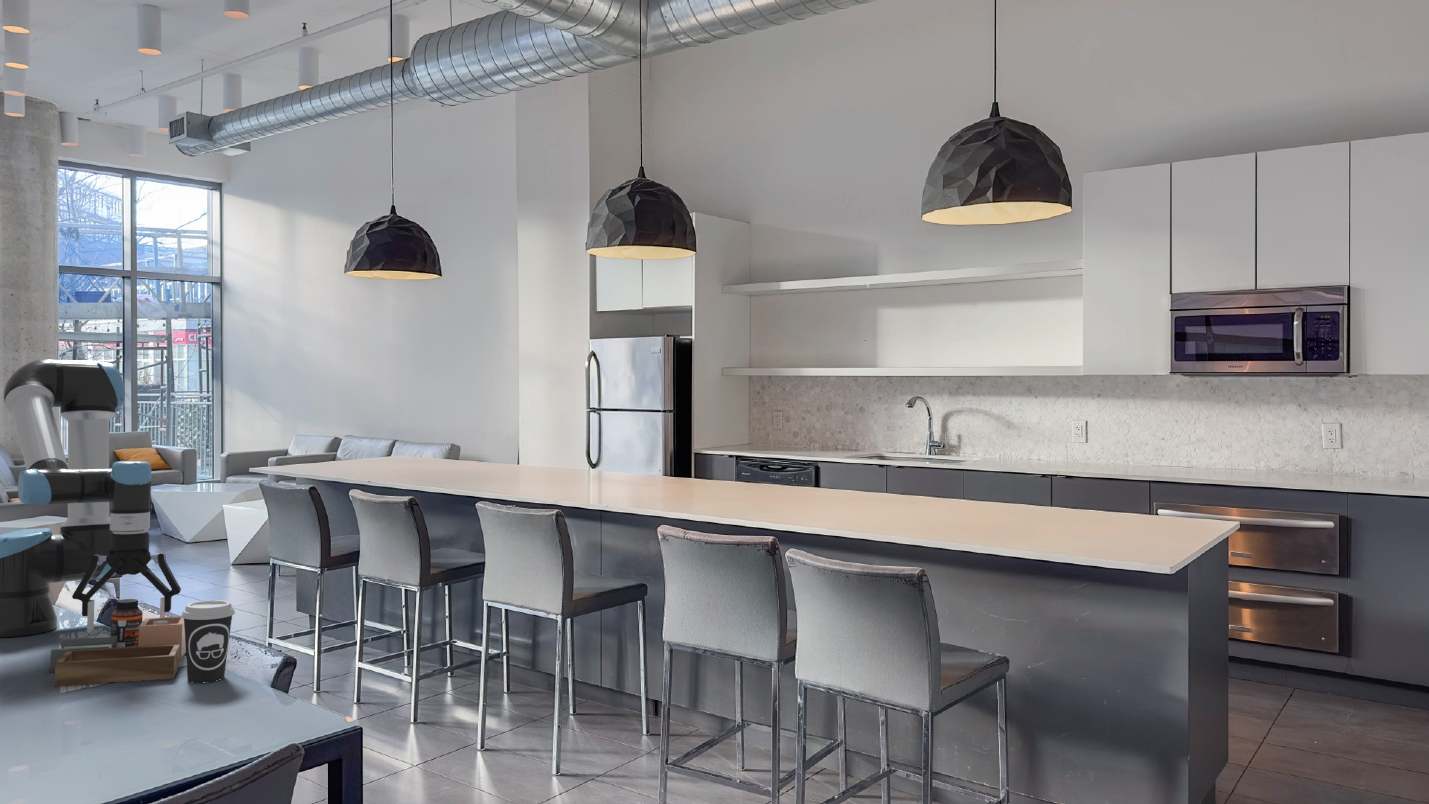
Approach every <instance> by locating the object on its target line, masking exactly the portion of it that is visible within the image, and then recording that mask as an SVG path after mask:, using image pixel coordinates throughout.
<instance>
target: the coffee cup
mask: <svg viewBox="0 0 1429 804" xmlns="http://www.w3.org/2000/svg"><path fill="white" fill-rule="evenodd" d="M235 614H236V611H235V609H234V607H233V606H232V603H231V601H229V600H222V599H221V600H219V599H211V600H210V599H209V600H199V601H193V602H189V603H187V604H186V606H185V608H184V609H183V610H182V613H181V615H180V617H182V618H184V628H185V643H186V651H185V657H186V658H185V659H186V673H187V674H186V675H187V682H188V683H190V682H193V683H192V684H204V683H203V682H211V683H214V682H213V681H216V680H219V679H222V678H223V677H224V678H225V675H226V674H225V673H226V665H227V656H228V651H229V641H230V635H231V626H232V620H233V616H234V615H235ZM224 678H223V679H224ZM223 679H222V680H223ZM219 681H220V680H219ZM216 682H217V681H216Z"/></svg>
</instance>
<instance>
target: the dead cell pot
mask: <svg viewBox="0 0 1429 804" xmlns="http://www.w3.org/2000/svg"><path fill="white" fill-rule="evenodd" d="M173 644H180V662H179V663H182V661H183V659H184V658H185V656H186V643H185V628H184V618H182V617H181V616H165V617H161V618H160V617H145V618H143V619H142V623H141V624H140V626H139V641H138V647H139V646H156V645H173Z"/></svg>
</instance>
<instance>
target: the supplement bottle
mask: <svg viewBox="0 0 1429 804" xmlns="http://www.w3.org/2000/svg"><path fill="white" fill-rule="evenodd" d="M143 619H144V618H143V610H142V609H141V608H139V600H138V599H136V598H125V599H118V600H117V601H116V609H115V610H113V612H111V615H110V629H109V630H110V633H109V635H110V636H118V638H117V648H121V647H138V641H139V626H140V624H141V623H142V622H143Z"/></svg>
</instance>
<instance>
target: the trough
mask: <svg viewBox="0 0 1429 804" xmlns="http://www.w3.org/2000/svg"><path fill="white" fill-rule="evenodd" d="M180 663H181V662H180V644H173V645H156V646H139V647H121V648H104V649H87V650H69V651H67V652H66V653H65V654H64V655H63V656H62V657H61V658H60V659H59V660H58V661H57V662H56V663H55V673H54V688H56V687H59V688H60V687H73V686H86V685H85V684H88V685H99V684H100V683H102V684H108V683H107V682H116V683H126V681H127V683H129V682H128V681H131V682H142V680H145V681H158V680H157V679H159V680H171V679H173V680H174V677H175V676H176V674H177V671H178V669H179V667H180ZM155 679H156V680H155ZM100 685H101V684H100Z"/></svg>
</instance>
